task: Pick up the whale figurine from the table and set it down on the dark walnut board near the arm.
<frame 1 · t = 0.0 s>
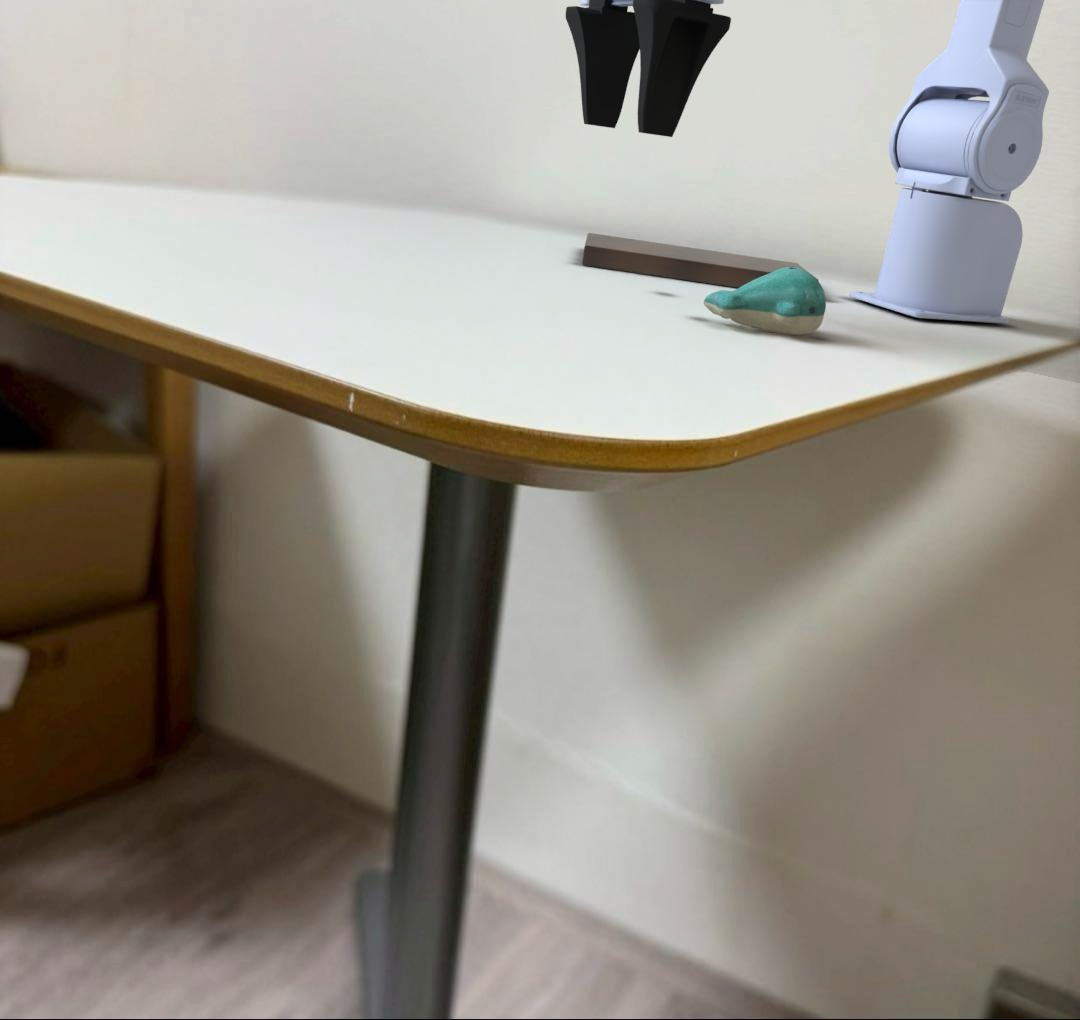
hand: (626, 130, 67), 10 cm above the table, tool pointing down, fingers open, 7 cm apart
walnut board: (693, 273, 86), on the table
whale figurine: (760, 331, 65), on the table
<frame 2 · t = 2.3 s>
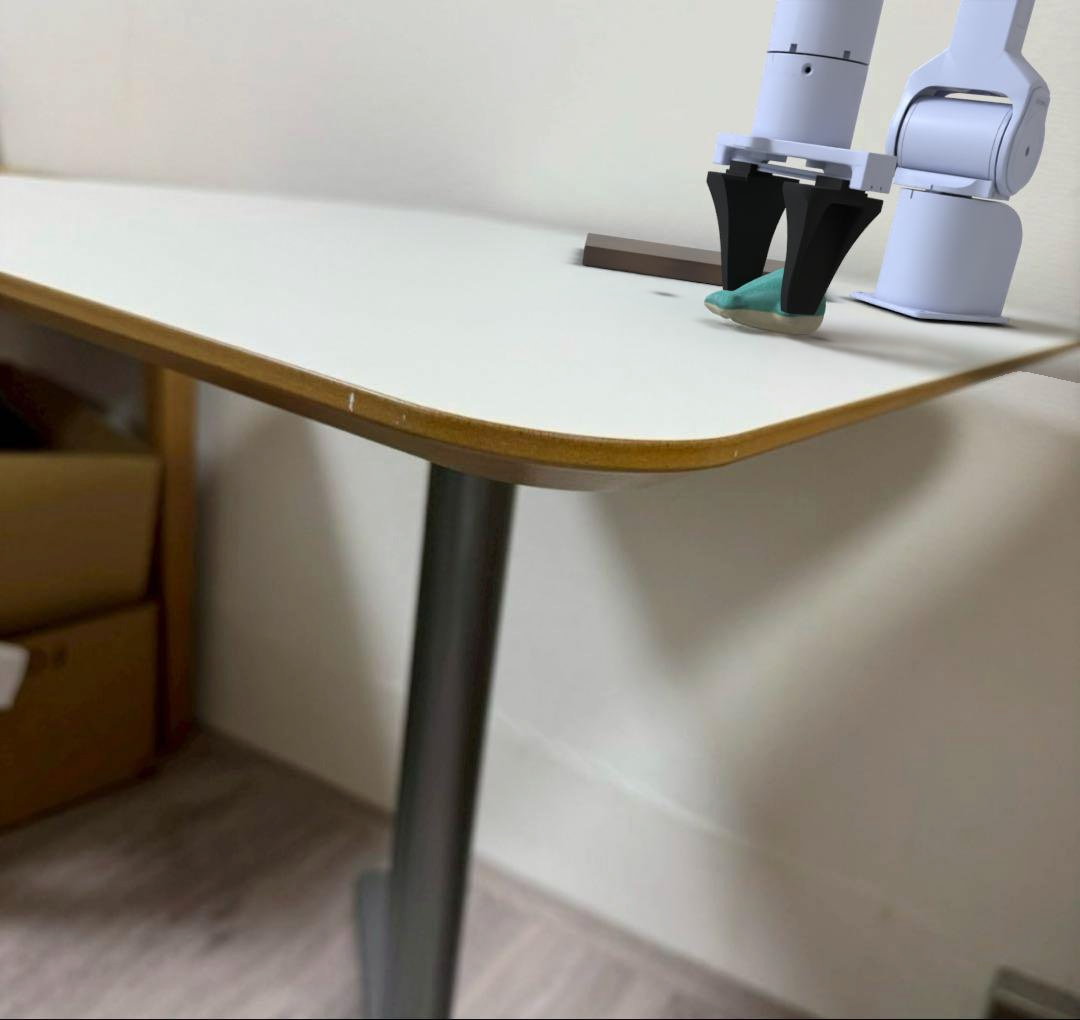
hand: (766, 302, 64), 2 cm above the table, tool pointing down, fingers closed on whale figurine, 6 cm apart
whale figurine: (760, 331, 65), on the table, touching gripper
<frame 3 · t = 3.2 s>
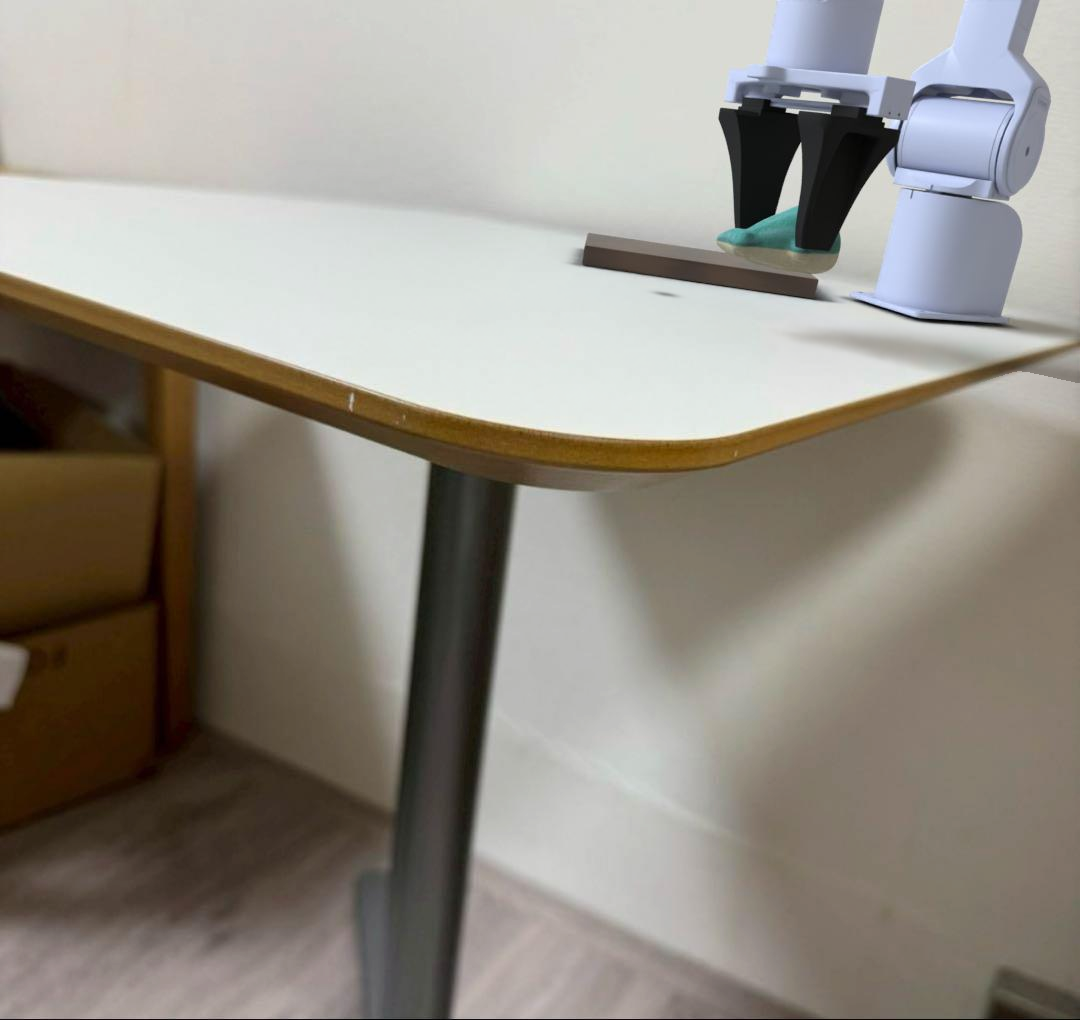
hand: (780, 240, 63), 5 cm above the table, tool pointing down, fingers closed on whale figurine, 6 cm apart
whale figurine: (773, 271, 63), point 3 cm above the table, touching gripper
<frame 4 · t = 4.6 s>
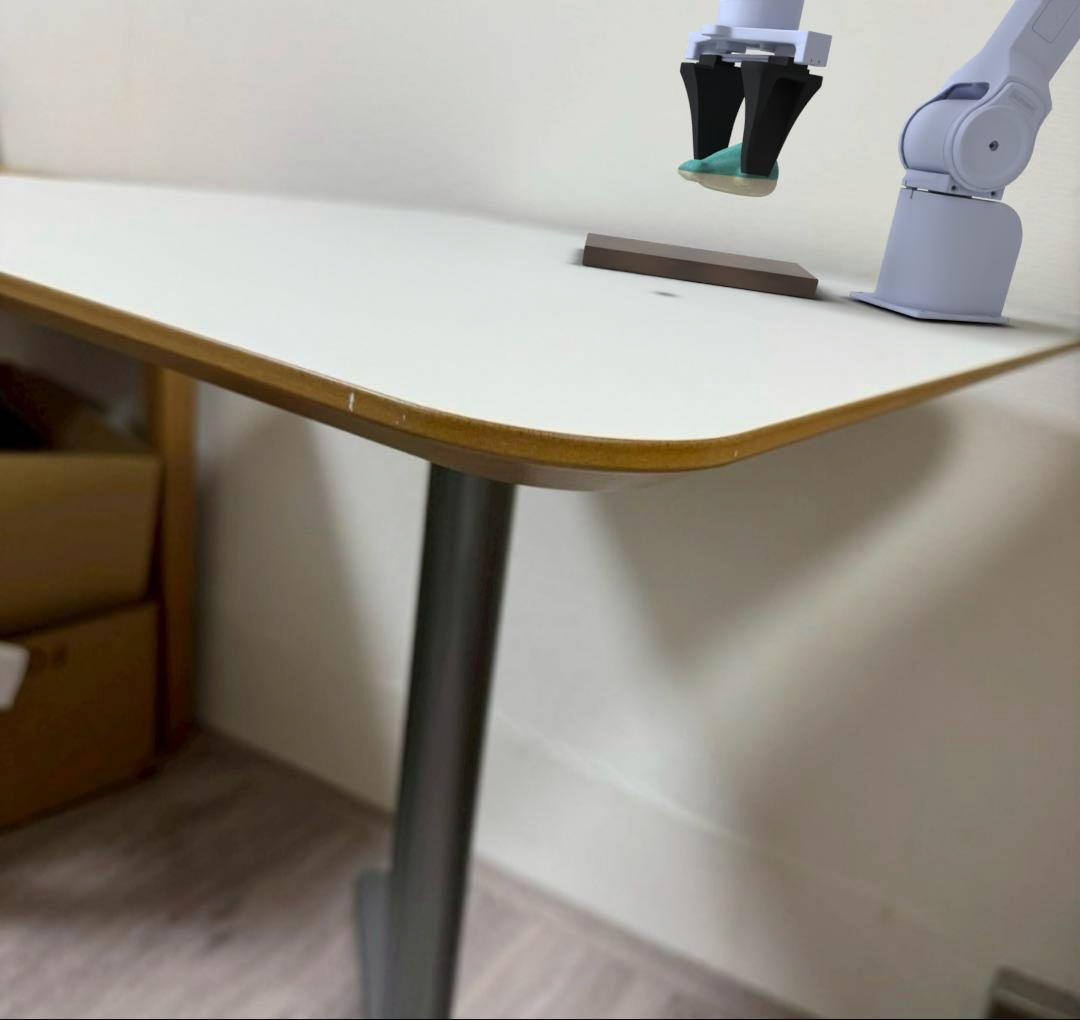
hand: (730, 170, 77), 8 cm above the table, tool pointing down, fingers closed on whale figurine, 6 cm apart
whale figurine: (724, 195, 78), point 7 cm above the table, touching gripper
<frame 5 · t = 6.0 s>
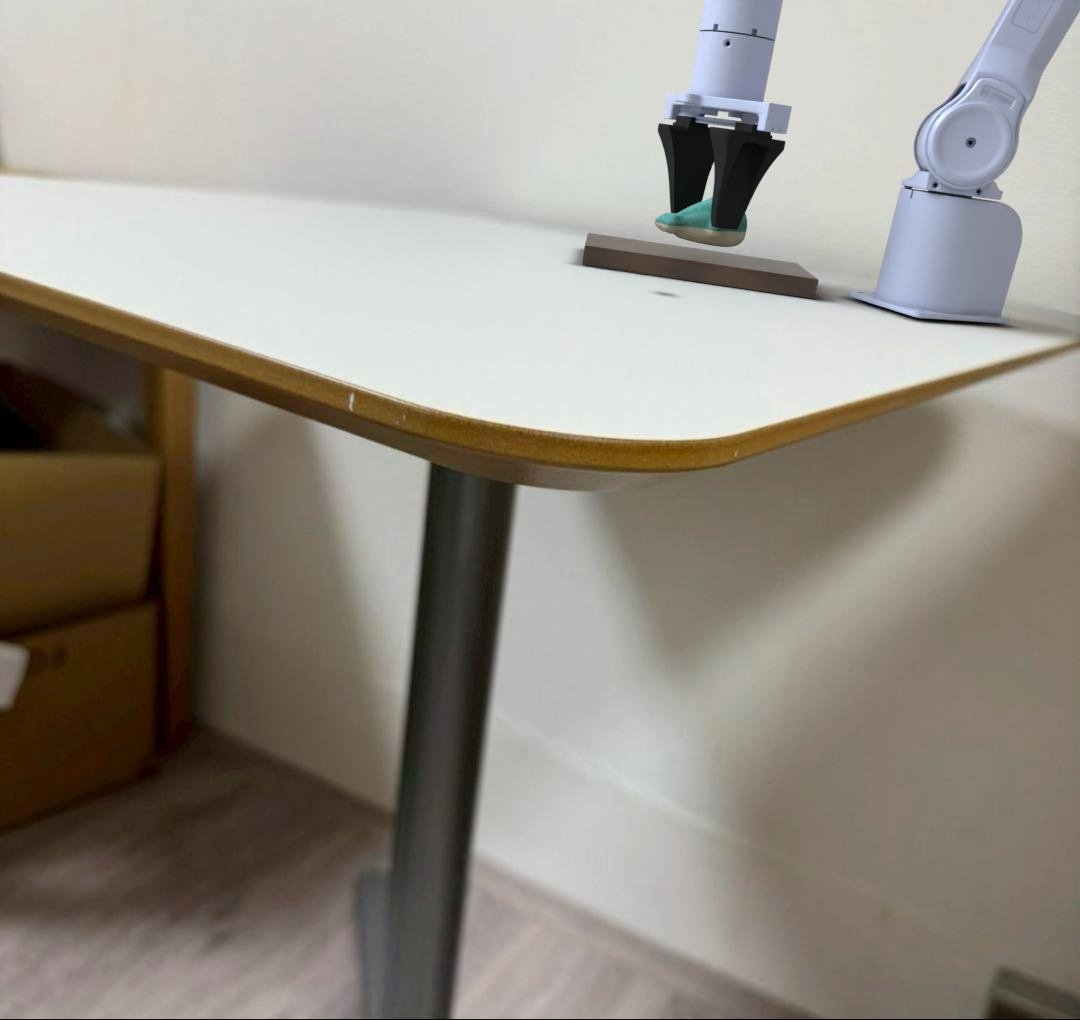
hand: (702, 222, 84), 4 cm above the table, tool pointing down, fingers closed on whale figurine, 6 cm apart
whale figurine: (698, 245, 85), point 2 cm above the table, touching gripper
when the fingers open (3 cm above the table, at t = 6.9 s): whale figurine stays where it is, resting on walnut board.
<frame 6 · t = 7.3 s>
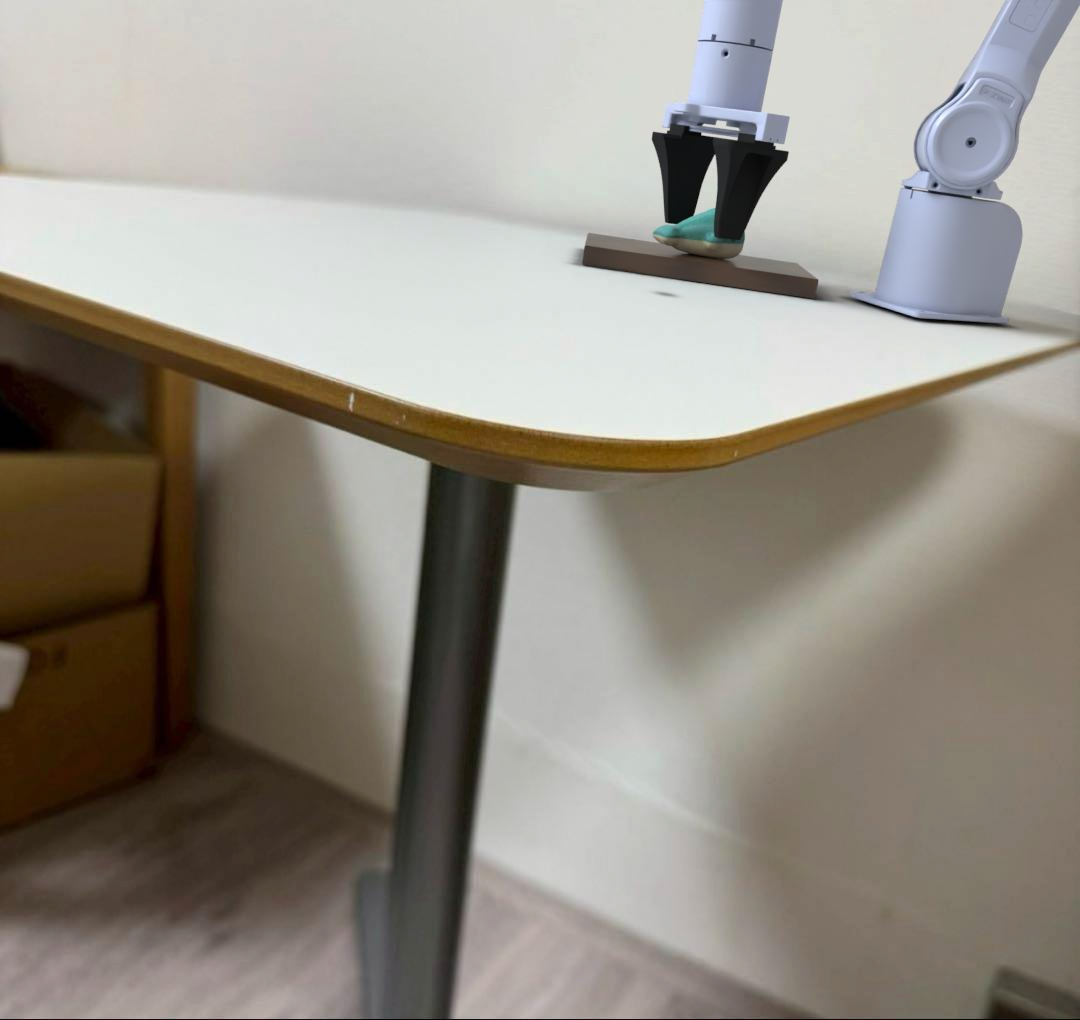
hand: (701, 231, 84), 3 cm above the table, tool pointing down, fingers open, 7 cm apart
whale figurine: (695, 257, 85), point 1 cm above the table, touching walnut board
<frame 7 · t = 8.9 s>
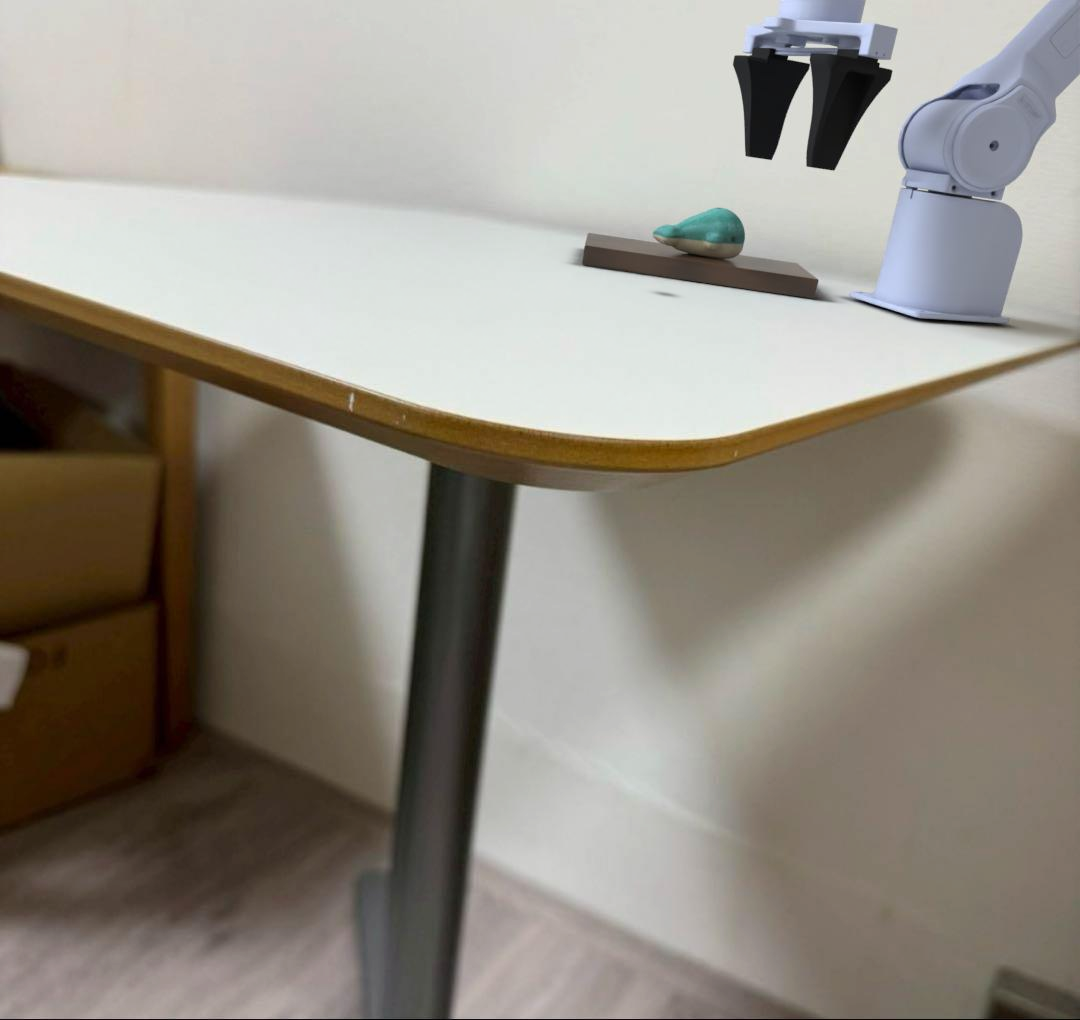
hand: (788, 163, 77), 9 cm above the table, tool pointing down, fingers open, 7 cm apart
nothing on the table moved.
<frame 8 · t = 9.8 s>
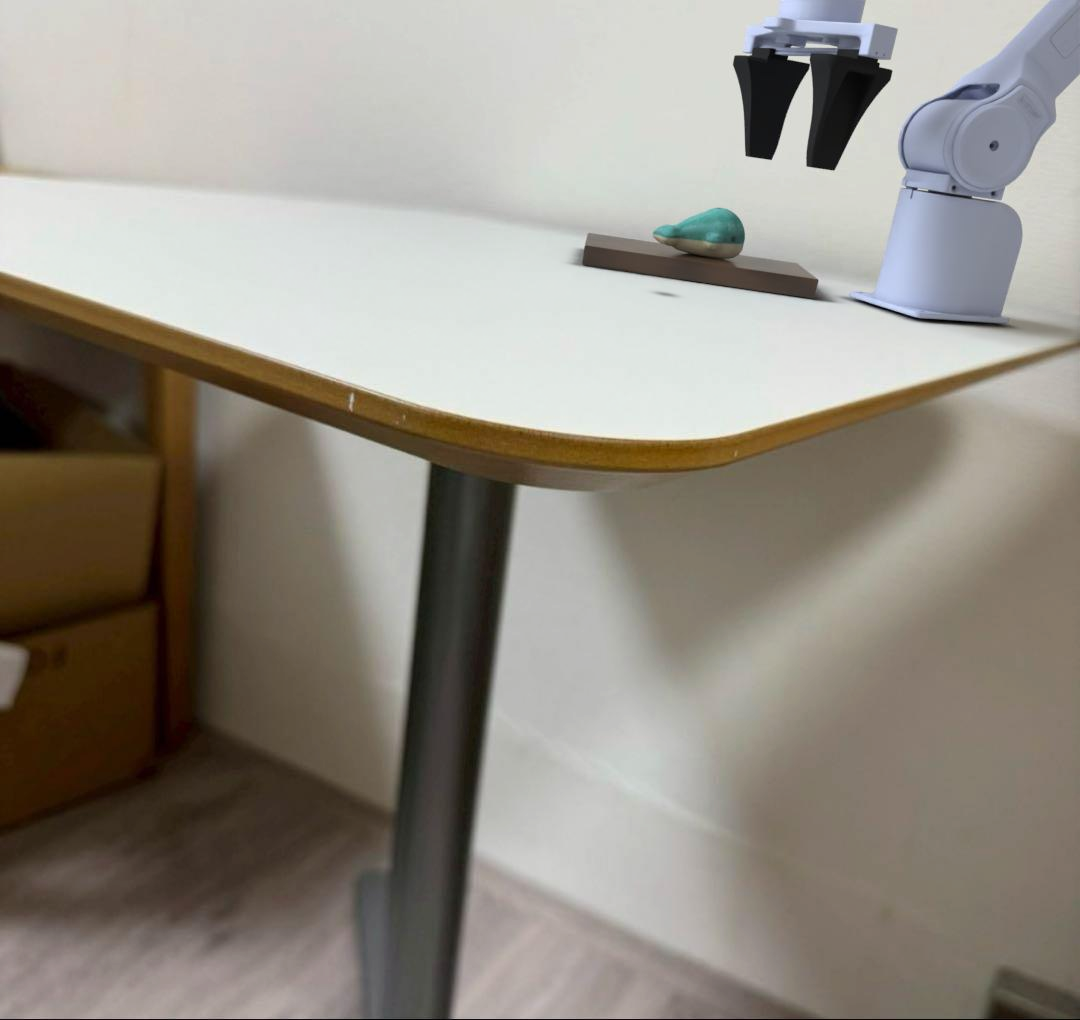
hand: (788, 163, 77), 9 cm above the table, tool pointing down, fingers open, 7 cm apart
nothing on the table moved.
at the end: whale figurine inside the target area on the walnut board (0.1 cm from its centre), point 1.3 cm above the walnut board's base; the gripper is holding nothing; whale figurine tilted 0° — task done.
